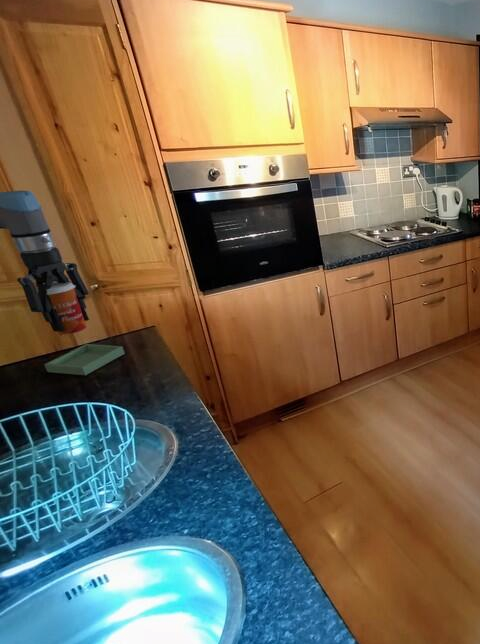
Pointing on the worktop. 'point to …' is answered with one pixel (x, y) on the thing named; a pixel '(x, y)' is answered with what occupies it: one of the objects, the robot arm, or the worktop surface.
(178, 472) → the worktop surface
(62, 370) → the tray
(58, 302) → the paper cup
